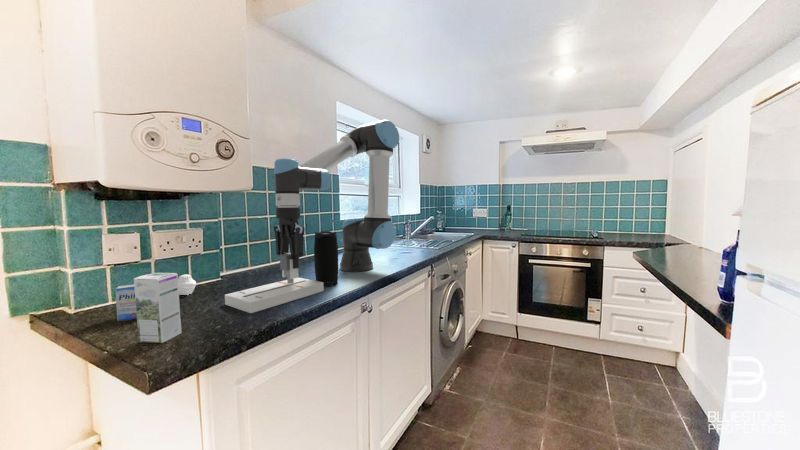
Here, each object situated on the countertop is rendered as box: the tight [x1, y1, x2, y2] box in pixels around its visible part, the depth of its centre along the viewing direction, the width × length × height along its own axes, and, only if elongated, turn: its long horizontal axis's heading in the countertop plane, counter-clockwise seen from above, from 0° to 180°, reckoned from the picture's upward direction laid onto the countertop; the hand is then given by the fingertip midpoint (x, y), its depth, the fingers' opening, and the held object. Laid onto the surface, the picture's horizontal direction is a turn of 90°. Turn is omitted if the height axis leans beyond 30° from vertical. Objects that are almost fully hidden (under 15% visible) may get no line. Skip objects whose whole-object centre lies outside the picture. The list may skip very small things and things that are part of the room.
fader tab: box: [279, 252, 301, 284], centre depth 103 cm, size 5×4×10 cm
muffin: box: [178, 273, 197, 296], centre depth 104 cm, size 6×6×7 cm
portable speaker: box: [313, 230, 339, 288], centre depth 115 cm, size 9×9×20 cm
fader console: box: [224, 277, 325, 314], centre depth 100 cm, size 26×14×3 cm, turn 145°
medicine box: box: [114, 283, 137, 322], centre depth 84 cm, size 8×4×9 cm, turn 123°
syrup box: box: [133, 272, 182, 344], centre depth 69 cm, size 6×6×14 cm
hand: (290, 277), depth 104 cm, fingers closed on fader tab, 3 cm apart
